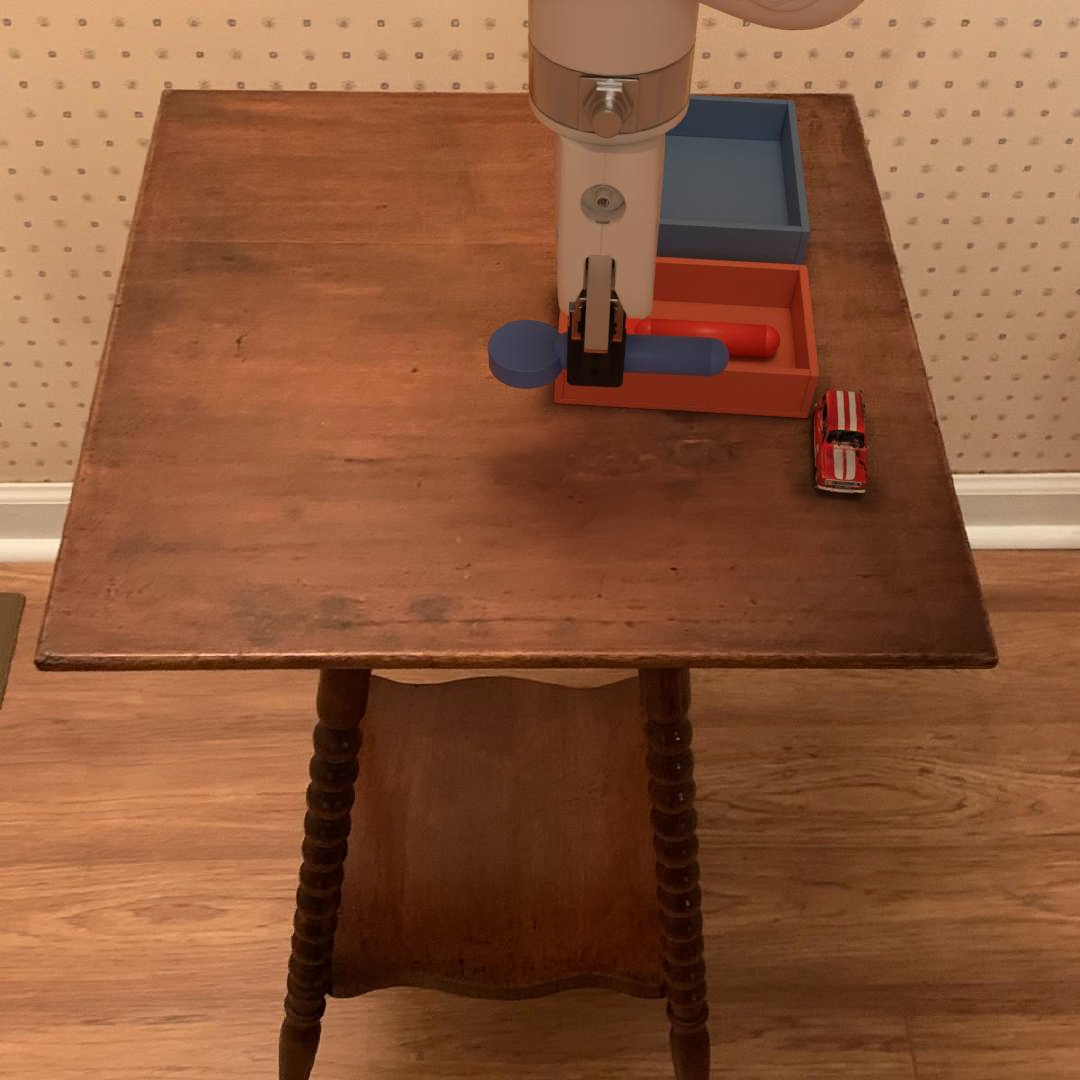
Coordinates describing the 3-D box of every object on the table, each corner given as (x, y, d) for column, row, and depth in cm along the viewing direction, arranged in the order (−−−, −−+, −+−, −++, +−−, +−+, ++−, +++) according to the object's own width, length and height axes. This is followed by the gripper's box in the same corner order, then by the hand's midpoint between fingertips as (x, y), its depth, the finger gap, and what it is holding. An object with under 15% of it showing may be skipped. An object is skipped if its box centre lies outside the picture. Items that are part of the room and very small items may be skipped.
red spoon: (775, 332, 85) (780, 308, 83) (778, 375, 82) (784, 351, 81) (582, 321, 85) (584, 297, 84) (579, 363, 83) (581, 339, 81)
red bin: (796, 308, 87) (807, 264, 84) (807, 418, 80) (819, 375, 77) (563, 294, 88) (564, 251, 85) (554, 403, 81) (555, 360, 78)
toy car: (812, 496, 76) (822, 463, 74) (809, 407, 81) (819, 373, 79) (868, 502, 76) (881, 469, 73) (862, 412, 81) (873, 378, 78)
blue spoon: (725, 346, 70) (730, 317, 68) (727, 399, 67) (732, 370, 66) (492, 335, 71) (491, 306, 69) (485, 387, 68) (483, 359, 66)
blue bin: (785, 142, 100) (794, 99, 97) (799, 275, 90) (810, 231, 87) (641, 135, 101) (645, 92, 97) (638, 266, 90) (642, 222, 87)
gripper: (694, 177, 50) (659, 471, 64) (689, -13, 59) (660, 279, 74) (514, 170, 50) (520, 464, 64) (540, -18, 60) (540, 274, 74)
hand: (595, 363), depth 69 cm, fingers closed on blue spoon, 2 cm apart
